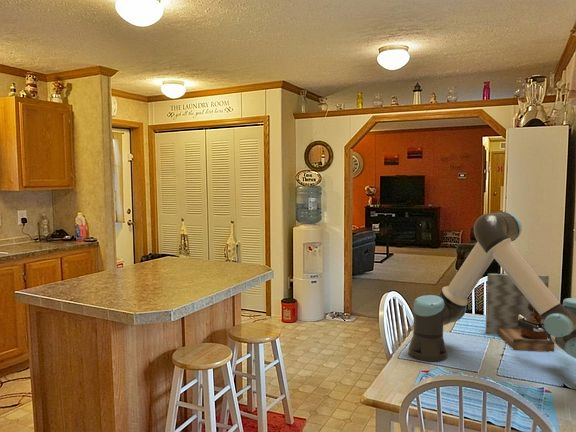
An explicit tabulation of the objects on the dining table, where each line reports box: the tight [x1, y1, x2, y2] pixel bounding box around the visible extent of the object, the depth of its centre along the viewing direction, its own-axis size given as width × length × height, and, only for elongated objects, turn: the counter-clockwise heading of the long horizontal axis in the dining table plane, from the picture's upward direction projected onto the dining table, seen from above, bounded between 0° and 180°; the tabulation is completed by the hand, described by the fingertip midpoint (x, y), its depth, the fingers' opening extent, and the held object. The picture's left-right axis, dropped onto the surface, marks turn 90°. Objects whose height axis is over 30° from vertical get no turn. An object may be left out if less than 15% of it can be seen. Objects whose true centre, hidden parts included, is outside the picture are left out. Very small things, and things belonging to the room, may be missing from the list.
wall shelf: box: [485, 273, 555, 352], centre depth 205 cm, size 26×22×28 cm
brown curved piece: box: [521, 303, 548, 340], centre depth 204 cm, size 15×11×20 cm
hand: (536, 318), depth 193 cm, fingers open, 13 cm apart
